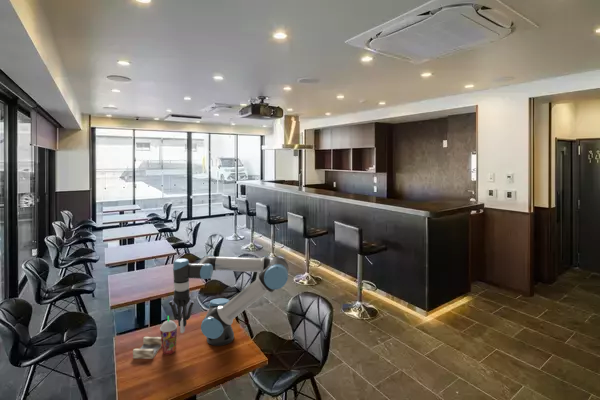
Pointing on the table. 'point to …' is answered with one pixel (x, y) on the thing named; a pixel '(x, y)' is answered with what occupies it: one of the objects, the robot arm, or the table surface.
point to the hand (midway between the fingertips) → (182, 331)
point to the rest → (148, 348)
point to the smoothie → (168, 336)
